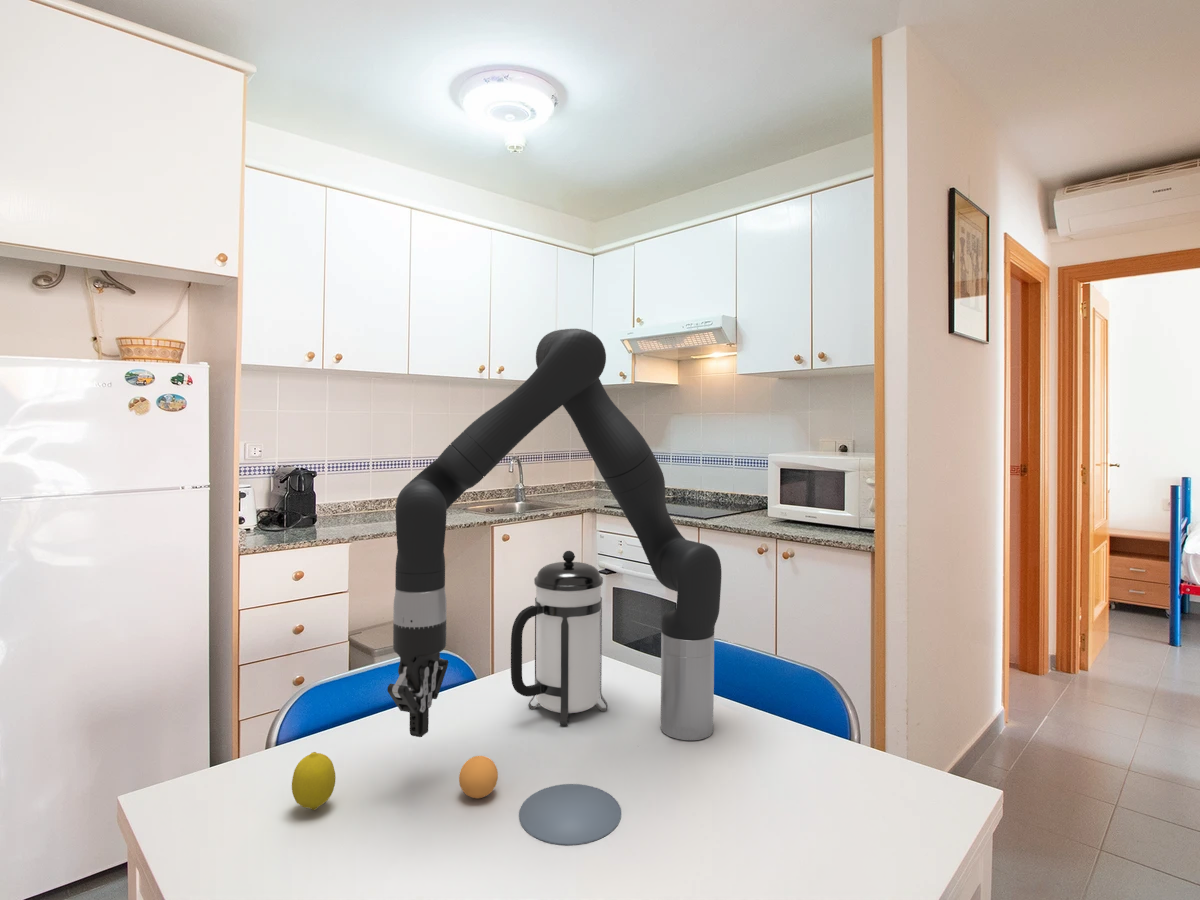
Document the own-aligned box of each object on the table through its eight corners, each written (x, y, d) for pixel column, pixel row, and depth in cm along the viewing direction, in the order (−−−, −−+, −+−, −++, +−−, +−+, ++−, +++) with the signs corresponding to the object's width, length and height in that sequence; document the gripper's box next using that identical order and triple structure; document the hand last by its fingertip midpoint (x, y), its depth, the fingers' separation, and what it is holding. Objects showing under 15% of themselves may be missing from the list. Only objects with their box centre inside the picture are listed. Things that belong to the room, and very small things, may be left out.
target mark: (542, 778, 99) (542, 777, 99) (632, 794, 95) (632, 793, 95) (501, 833, 86) (501, 831, 86) (604, 854, 82) (604, 852, 82)
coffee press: (533, 690, 132) (533, 542, 131) (612, 695, 130) (613, 545, 129) (509, 729, 115) (509, 559, 114) (600, 736, 113) (601, 562, 112)
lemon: (319, 823, 88) (319, 764, 87) (283, 818, 89) (282, 760, 89) (343, 800, 93) (343, 745, 93) (308, 796, 94) (308, 741, 94)
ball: (470, 782, 98) (470, 746, 98) (504, 788, 96) (504, 751, 96) (451, 802, 93) (451, 764, 93) (487, 809, 91) (487, 770, 91)
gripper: (417, 633, 89) (416, 759, 90) (465, 608, 102) (463, 719, 102) (370, 627, 91) (369, 751, 92) (422, 604, 104) (421, 712, 104)
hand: (419, 734), depth 97 cm, fingers closed
